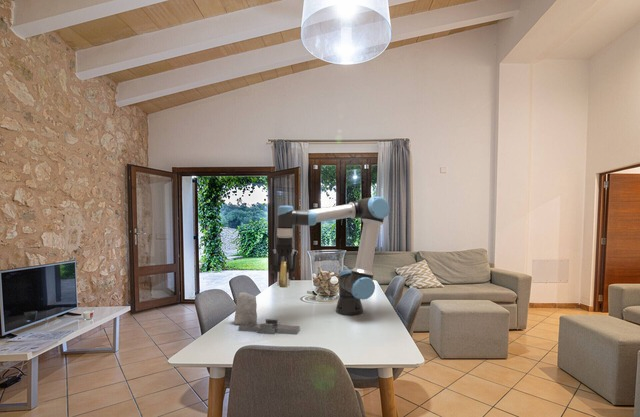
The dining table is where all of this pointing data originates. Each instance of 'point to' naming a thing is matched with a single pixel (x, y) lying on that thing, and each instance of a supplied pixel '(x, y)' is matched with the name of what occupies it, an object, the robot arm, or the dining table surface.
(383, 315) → the dining table surface
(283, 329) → the link plates
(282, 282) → the link pin
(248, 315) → the decorative stone
